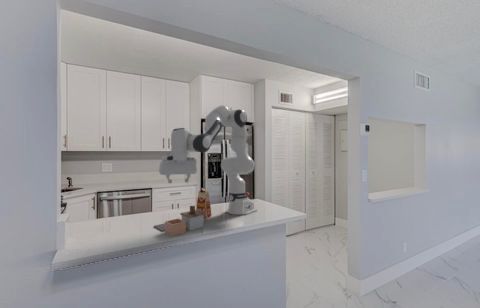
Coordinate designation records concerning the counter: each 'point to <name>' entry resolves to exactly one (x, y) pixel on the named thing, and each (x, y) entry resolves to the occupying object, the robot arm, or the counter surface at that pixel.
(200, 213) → the lid
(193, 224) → the blue-grey open box
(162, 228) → the mat
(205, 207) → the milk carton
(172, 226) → the orange open box
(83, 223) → the counter surface
